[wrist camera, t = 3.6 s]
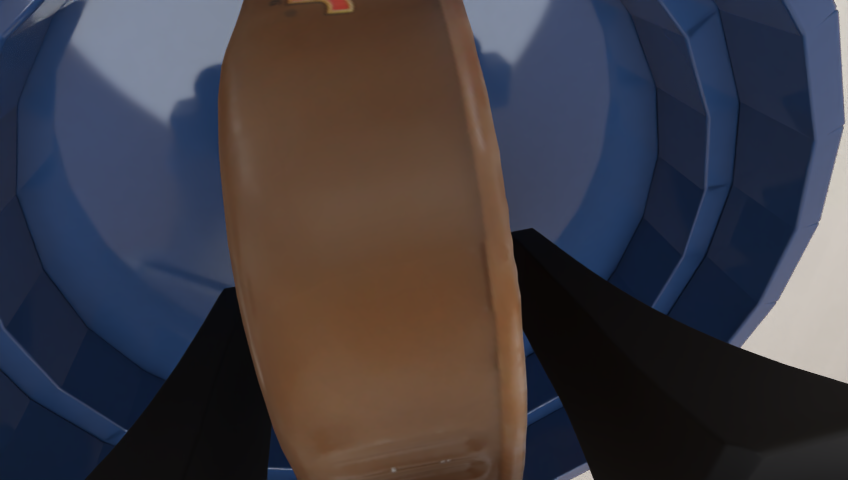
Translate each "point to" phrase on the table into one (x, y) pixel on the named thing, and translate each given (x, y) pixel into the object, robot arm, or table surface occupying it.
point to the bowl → (520, 161)
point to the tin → (373, 240)
